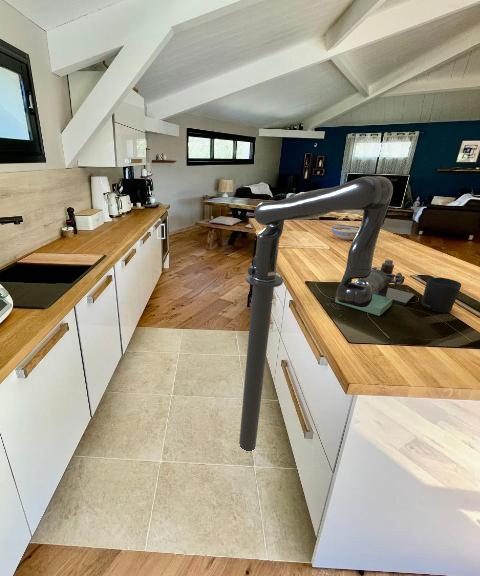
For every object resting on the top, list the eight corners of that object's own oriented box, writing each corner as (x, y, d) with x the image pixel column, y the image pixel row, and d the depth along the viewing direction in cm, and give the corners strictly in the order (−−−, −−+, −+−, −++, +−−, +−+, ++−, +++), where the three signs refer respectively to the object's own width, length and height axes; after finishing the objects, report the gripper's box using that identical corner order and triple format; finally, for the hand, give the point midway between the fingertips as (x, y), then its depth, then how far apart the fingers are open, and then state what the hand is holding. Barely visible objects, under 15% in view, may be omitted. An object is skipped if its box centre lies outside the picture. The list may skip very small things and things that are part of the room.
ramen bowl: (320, 238, 212) (322, 226, 209) (335, 233, 226) (337, 222, 223) (358, 245, 195) (361, 232, 192) (372, 239, 210) (375, 227, 206)
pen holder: (416, 300, 117) (424, 275, 113) (447, 304, 114) (456, 279, 110) (423, 310, 109) (431, 284, 105) (456, 315, 106) (466, 288, 102)
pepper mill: (374, 290, 123) (381, 260, 118) (377, 288, 126) (385, 258, 121) (385, 293, 120) (393, 262, 116) (388, 291, 123) (396, 260, 118)
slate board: (348, 289, 126) (349, 287, 126) (359, 282, 134) (360, 280, 134) (405, 305, 113) (405, 302, 113) (413, 296, 121) (414, 294, 120)
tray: (334, 302, 115) (336, 295, 114) (348, 293, 123) (349, 287, 122) (379, 316, 105) (381, 309, 104) (391, 305, 113) (392, 299, 112)
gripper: (397, 277, 105) (410, 267, 116) (353, 267, 115) (369, 259, 125) (391, 297, 108) (405, 286, 118) (349, 286, 118) (365, 276, 128)
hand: (387, 272), depth 122 cm, fingers open, 8 cm apart
